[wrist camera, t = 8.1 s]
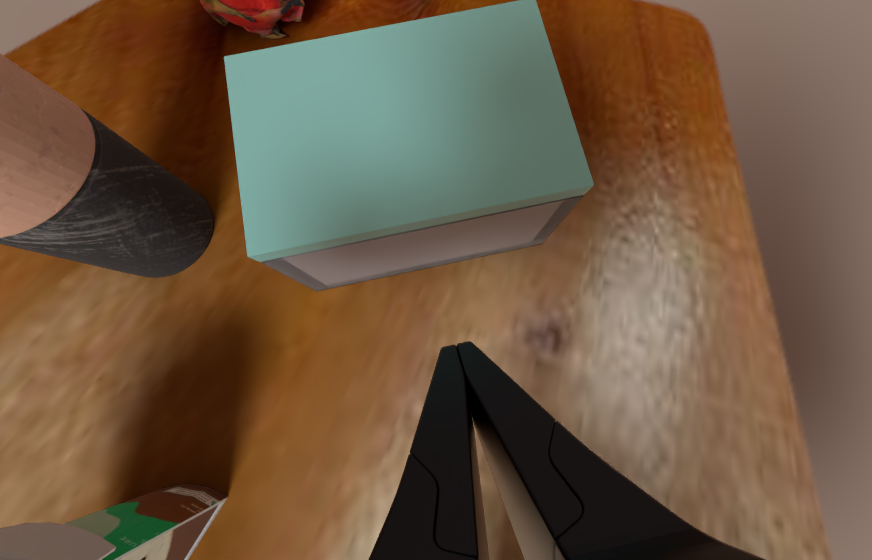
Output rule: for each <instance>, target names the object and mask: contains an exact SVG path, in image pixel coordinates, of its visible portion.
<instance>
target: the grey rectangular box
mask: <svg viewBox="0 0 872 560" xmlns="http://www.w3.org/2000/svg"><path fill="white" fill-rule="evenodd" d="M582 197H583V195H580V196H575V197H570V198H565V199H560V200H556V201H551V202H546V203H541V204H536V205H531V206H527V207H522V208H517V209H512V210H507V211H502V212H498V213H493V214H488V215H483V216H478V217H474V218H469V219H464V220H459V221H454V222H449V223H445V224H440V225H435V226H430V227H425V228H421V229H416V230H411V231H406V232H401V233H396V234H392V235H387V236H382V237H377V238H372V239H367V240H363V241H358V242H353V243H348V244H343V245H339V246H334V247H329V248H324V249H319V250H314V251H310V252H305V253H300V254H295V255H290V256H286V257H281V258H276V259H271V260H266V261H262V263H263V264H265V265H267V266H269V267H271V268H273V269H274V270H276V271H278V272H280V273H282V274H284V275H286V276H288V277H290V278H292V279H294V280H296V281H298V282H300V283H302V284H304V285H305V286H307V287H309V288H311V289H313V290H315V291H321V290H325V289H330V288H335V287H339V286H344V285H349V284H354V283H358V282H363V281H368V280H373V279H377V278H382V277H387V276H392V275H396V274H401V273H406V272H411V271H415V270H420V269H425V268H430V267H434V266H439V265H444V264H449V263H453V262H458V261H463V260H468V259H472V258H477V257H482V256H487V255H491V254H496V253H501V252H506V251H510V250H515V249H520V248H524V247H529V246H534V245H539V244H542V243H543V242H544V241H545V239H546V238H547V237H548V236H549V235H550V234H551V233H552V231H553V230H554V229H555V228H556V227H557V226H558V225H559V223H560V222H561V221H562V220H563V219H564V218H565V216H566V215H567V214H568V213H569V212H570V211H571V210H572V208H573V207H574V206H575V205H576V204H577V203H578V202H579V200H580V199H581V198H582Z"/></svg>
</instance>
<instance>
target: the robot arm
mask: <svg viewBox="0 0 872 560" xmlns="http://www.w3.org/2000/svg"><path fill="white" fill-rule="evenodd" d="M472 418H473V420H472ZM473 422H474V425H475V428H476V431H477V434H478V437H479V439H480V442H481V445H482V447H483V450H484V453H485V455H486V458H487V461H488V463H489V466H490V469H491V471H492V474H493V477H494V479H495V482H496V485H497V487H498V490H499V493H500V495H501V498H502V501H503V503H504V506H505V509H506V511H507V514H508V517H509V520H510V522H511V525H512V528H513V530H514V533H515V536H516V538H517V541H518V544H519V546H520V549H521V552H522V554H523V557H524V560H765V559H763V558H760V557H758V556H755V555H753V554H751V553H748V552H746V551H743V550H741V549H738V548H736V547H733V546H731V545H728V544H726V543H723V542H721V541H719V540H717V539H715V538H713V537H711V536H709V535H707V534H705V533H703V532H702V531H700V530H698V529H696V528H695V527H693V526H692V525H690V524H689V523H687V522H685V521H684V520H682V519H681V518H680V517H678V516H677V515H675V514H674V513H673V512H671V511H670V510H669V509H667V508H666V507H665V506H663V505H662V504H661V503H659V502H658V501H657V500H655V499H654V498H653V497H651V496H650V495H649V494H647V493H646V492H645V491H643V490H642V489H641V488H639V487H638V486H637V485H635V484H634V483H633V482H631V481H630V480H629V479H627V478H626V477H625V476H623V475H622V474H621V473H619V472H618V471H617V470H615V469H614V468H613V467H611V466H610V465H609V464H608V463H606V462H605V461H604V460H602V459H601V458H600V457H599V456H597V455H596V454H595V453H593V452H592V451H591V450H590V449H588V448H587V447H586V446H585V445H584V444H583V443H582V442H580V441H579V440H578V439H577V438H576V437H575V436H573V435H572V434H571V433H570V432H569V431H568V430H567V429H566V428H565V427H564V426H562V425H561V424H560V423H559V422H558V421H556V420H555V418H554V417H553V416H551V415H550V414H549V413H548V412H547V411H546V410H545V409H544V408H543V407H542V406H541V405H539V404H538V403H537V402H536V401H535V400H534V399H533V398H532V397H531V396H530V395H529V394H528V393H526V392H525V391H524V390H523V389H522V388H521V387H520V386H519V385H518V384H517V383H516V382H514V381H513V380H512V379H511V378H510V377H509V376H508V375H507V374H506V373H505V372H504V371H503V370H501V369H500V368H499V367H498V366H497V365H496V364H495V363H494V362H493V361H492V360H491V359H490V358H488V357H487V356H486V355H485V354H484V353H483V352H482V351H481V350H480V349H479V348H478V347H476V346H475V345H474V344H473V343H472V342H470V341H468V342H463V343H459V344H457V347H456V345H450V346H445V347H442V348H441V350H440V353H439V357H438V360H437V363H436V367H435V370H434V373H433V377H432V380H431V383H430V387H429V390H428V393H427V396H426V400H425V403H424V406H423V410H422V413H421V416H420V420H419V423H418V426H417V430H416V433H415V436H414V440H413V443H412V446H411V450H410V454H409V456H408V459H407V462H406V466H405V469H404V472H403V475H402V478H401V481H400V484H399V487H398V490H397V493H396V495H395V498H394V500H393V503H392V505H391V508H390V510H389V513H388V515H387V518H386V520H385V523H384V525H383V527H382V530H381V532H380V534H379V537H378V539H377V541H376V544H375V546H374V548H373V550H372V553H371V555H370V557H369V560H489V553H488V544H487V536H486V527H485V518H484V510H483V501H482V493H481V484H480V475H479V467H478V458H477V450H476V441H475V433H474V426H473Z"/></svg>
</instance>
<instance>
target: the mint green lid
mask: <svg viewBox="0 0 872 560" xmlns="http://www.w3.org/2000/svg"><path fill="white" fill-rule="evenodd" d="M224 62H225V70H226V79H227V87H228V96H229V104H230V113H231V121H232V130H233V138H234V146H235V155H236V163H237V172H238V180H239V189H240V197H241V206H242V214H243V223H244V231H245V239H246V248H247V256H248V257H249V258H252V259H254V260H256V261H259V262H261V261H266V260H271V259H276V258H281V257H286V256H290V255H295V254H300V253H305V252H310V251H314V250H319V249H324V248H329V247H334V246H339V245H343V244H348V243H353V242H358V241H363V240H367V239H372V238H377V237H382V236H387V235H392V234H396V233H401V232H406V231H411V230H416V229H421V228H425V227H430V226H435V225H440V224H445V223H449V222H454V221H459V220H464V219H469V218H474V217H478V216H483V215H488V214H493V213H498V212H502V211H507V210H512V209H517V208H522V207H527V206H531V205H536V204H541V203H546V202H551V201H556V200H560V199H565V198H570V197H575V196H580V195H584V194H586V193H587V192H588V191H589V190H590V189H591V188H592V187H593V186H594V183H593V180H592V176H591V173H590V170H589V167H588V164H587V161H586V157H585V154H584V151H583V148H582V145H581V142H580V138H579V135H578V132H577V129H576V126H575V123H574V120H573V116H572V113H571V110H570V107H569V104H568V101H567V97H566V94H565V91H564V88H563V85H562V82H561V78H560V75H559V72H558V69H557V66H556V63H555V59H554V56H553V53H552V50H551V47H550V44H549V40H548V37H547V34H546V31H545V28H544V25H543V22H542V18H541V15H540V12H539V9H538V6H537V3H536V0H519V1H513V2H508V3H503V4H498V5H492V6H487V7H482V8H477V9H471V10H466V11H461V12H456V13H450V14H445V15H440V16H435V17H429V18H424V19H419V20H413V21H408V22H403V23H398V24H392V25H387V26H382V27H377V28H371V29H366V30H361V31H356V32H350V33H345V34H340V35H335V36H329V37H324V38H319V39H314V40H308V41H303V42H298V43H293V44H287V45H282V46H277V47H271V48H266V49H261V50H256V51H250V52H245V53H240V54H235V55H229V56H224Z"/></svg>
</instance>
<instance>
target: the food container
mask: <svg viewBox="0 0 872 560" xmlns="http://www.w3.org/2000/svg"><path fill="white" fill-rule="evenodd" d="M227 498H228V497H226V496H225V495H223V494H221V493H219V492H218V491H216V490H214V489H212V488H208V487H203V486H198V485H192V484H183V485H177V486H171V487H165V488H161V489H159V490H156V491H153V492H150V493H148V494H145V495H142V496H139V497H136V498H134V499H131V500H128V501H125V502H123V503H120V504H117V505H114V506H112V507H109V508H106V509H103V510H101V511H98V512H95V513H92V514H90V515H87V516H84V517H81V518H79V519H76V520H73V521H70V522H68V523H65V524H57V523H24V524H20V525H15V526H10V527H5V528H0V560H188V559H189V558H190V556H191V555H192V553H193V551H194V550H195V548H196V547H197V545H198V544H199V542H200V540H201V539H202V537H203V536H204V534H205V532H206V531H207V529H208V528H209V526H210V524H211V523H212V521H213V520H214V518H215V517H216V515H217V513H218V512H219V510H220V509H221V507H222V505H223V504H224V502H225V501H226V499H227Z"/></svg>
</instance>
